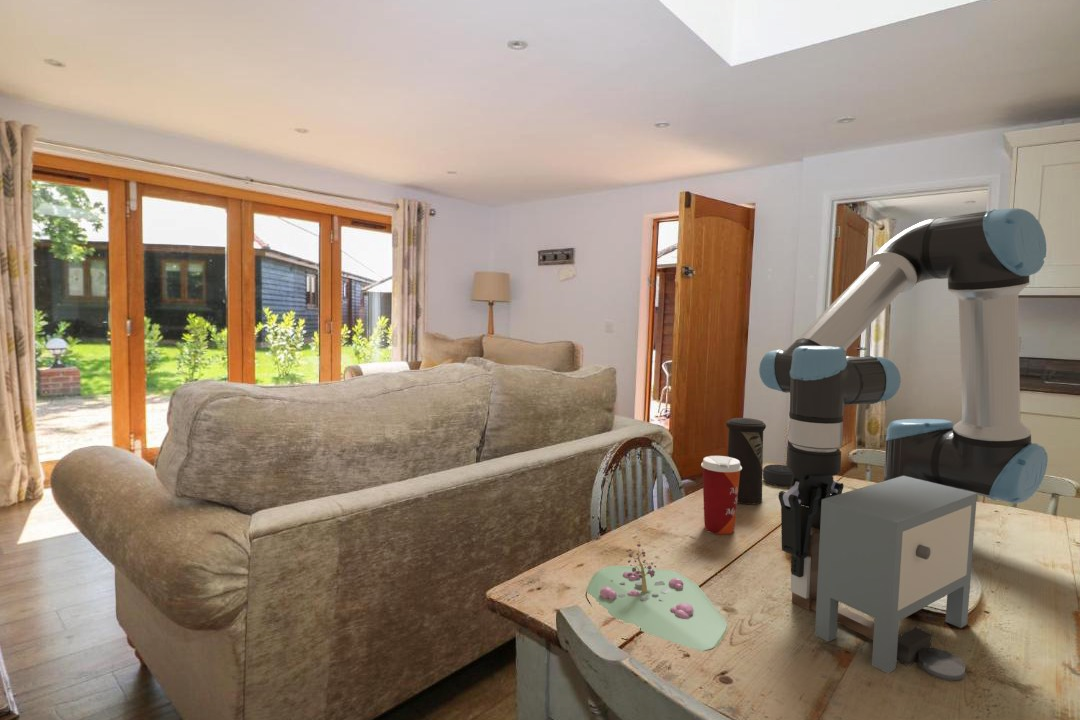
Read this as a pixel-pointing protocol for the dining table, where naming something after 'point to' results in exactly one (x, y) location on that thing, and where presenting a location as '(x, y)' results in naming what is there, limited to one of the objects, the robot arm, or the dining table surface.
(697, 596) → the miniature garden model
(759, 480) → the container
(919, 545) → the cabinet
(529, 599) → the dining table surface
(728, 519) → the coffee cup
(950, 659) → the silver flat dome
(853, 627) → the pusher tool
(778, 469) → the smart speaker
